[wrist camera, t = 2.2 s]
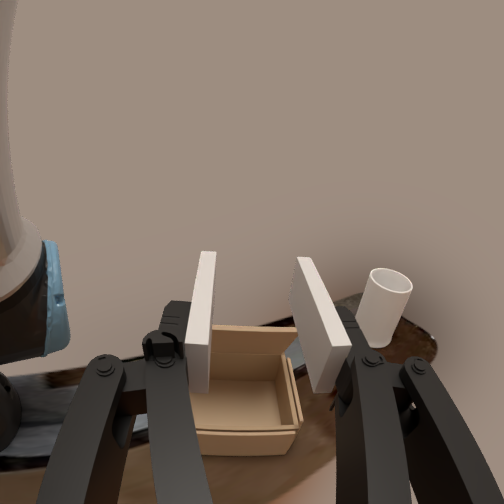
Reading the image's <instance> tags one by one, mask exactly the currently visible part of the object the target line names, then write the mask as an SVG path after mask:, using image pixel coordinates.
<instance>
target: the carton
mask: <svg viewBox="0 0 504 504" xmlns="http://www.w3.org/2000/svg"><path fill="white" fill-rule="evenodd" d="M189 395H190V401H191V406H192V412H193V417H194V422H195V428H196V433H197V438H198V442H199V447H200V452H201V455H219V456H266V455H285V454H286V452H287V450H289V448H290V446H291V444H292V443H293V441H294V439H295V437H296V435H297V433H298V431H299V429H300V427H301V425H302V423H303V416H302V412H301V407H300V402H299V397H298V393H297V388H296V383H295V379H294V374H293V369H292V365H291V360H290V358H287V360H286V358H285V353H284V352H283V353H282V354H236V353H214V352H211V355H210V372H209V392H208V394H205V393H191V392H189Z"/></svg>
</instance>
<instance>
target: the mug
mask: <svg viewBox="0 0 504 504" xmlns="http://www.w3.org/2000/svg"><path fill="white" fill-rule="evenodd" d="M412 287H413V286H412V283H411V281H410V280H409V279H408V278H407V277H405V276H404V275H402V274H401V273H399V272H396V271H394V270H390V269H385V268H377V269H374V270H372V271H371V272H370V276H369V279H368V281H367V285H366V288H365V291H364V294H363V296H362V299H361V302H360V305H359V308H358V311H357V314H356V316H355V319H356V321H357V322H358V324H359V326H360V329H361V330H362V332H363V334H364V336H365V338H366V340H367V342H368V344H369V346H370V347H371V348H382V347H385V346H387V345H388V344H389V343H390V342H391V339H392V335H393V332H394V330H395V328H396V326H397V324H398V321H399V319H400V317H401V315H402V312H403V310H404V308H405V305H406V303H407V301H408V298H409V296H410V293H411V291H412Z"/></svg>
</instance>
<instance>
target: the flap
mask: <svg viewBox="0 0 504 504" xmlns="http://www.w3.org/2000/svg"><path fill="white" fill-rule="evenodd" d="M297 336H298V333H297V329H296V327H252V326H227V325H212V339H211V352H214V353H236V354H282V353H283V352H284V351H285V350H286V349H287V348H288V347H289V345H290V344H291V343H292V342H293V341H294V340H295V339H296V337H297Z"/></svg>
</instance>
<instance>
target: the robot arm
mask: <svg viewBox="0 0 504 504" xmlns="http://www.w3.org/2000/svg"><path fill="white" fill-rule="evenodd" d="M17 3H18V0H0V365H2V364H7V363H12V362H16V361H21V360H26V359H31V358H35V357H45V356H47V354H49V353H53V352H56V351H59V350H62V349H64V348H65V347H66V346H67V345H68V344H69V341H70V328H69V322H68V316H67V310H66V304H65V299H64V292H63V283H62V276H61V268H60V260H59V254H58V247H57V244H56V243H55V242H54V241H47V240H44V241H42V240H41V237H40V234H39V231H38V229H37V227H36V226H35V225H34V224H33V223H32V222H31V221H30V220H28V219H27V218H24V217H22V216H20V212H19V207H18V203H17V197H16V192H15V186H14V180H13V172H12V165H11V157H10V146H9V133H8V110H7V91H8V89H7V88H8V67H9V55H10V45H11V37H12V30H13V24H14V18H15V12H16V8H17ZM215 272H216V252H211V251H210V252H209V251H201V256H200V261H199V266H198V271H197V276H196V281H195V287H194V292H193V298H192V302H185V301H170V303H169V304H168V305H167V306H166V307H165V308H164V311H163V315H162V319H161V322H160V325H159V329H158V330H155V331H152V332H150V333H148V334H147V335H146V336H145V337H144V338H143V342H142V346H143V352H144V357H145V358H144V359H141V360H139V361H135V362H127V363H122V361H121V360H120V359H119V358H118V357H116V356H113V355H107V354H104V355H100V356H97V357H95V358H94V359H92V360H91V361H90V363H89V364H88V366H87V368H86V370H85V372H84V374H83V377H82V379H81V381H80V383H79V386H78V388H77V390H76V392H75V395H74V397H73V399H72V402H71V404H70V406H69V409H68V411H67V414H66V416H65V419H64V421H63V424H62V426H61V429H60V432H59V434H58V437H57V439H56V442H55V445H54V448H53V451H52V453H51V456H50V459H49V462H48V465H47V468H46V471H45V474H44V477H43V481H42V484H41V487H40V491H39V494H38V498H37V501H36V504H117V501H118V496H119V491H120V486H121V481H122V476H123V471H124V466H125V462H126V457H127V453H128V449H129V444H130V440H131V436H132V432H133V428H134V424H135V420H136V416H137V415H139V414H146V413H147V417H148V430H149V442H150V452H151V461H152V469H153V477H154V484H155V491H156V498H157V504H213V501H212V498H211V494H210V490H209V486H208V482H207V478H206V474H205V469H204V465H203V461H202V456H201V452H200V447H199V442H198V438H197V433H196V428H195V422H194V417H193V412H192V406H191V401H190V395H189V392H191V393H205V394H208V392H209V372H210V355H211V339H212V324H213V310H214V297H215ZM289 303H290V307H291V311H292V314H293V318H294V322H295V325H296V329H297V333H298V336H299V340H300V344H301V347H302V351H303V355H304V359H305V362H306V366H307V370H308V374H309V378H310V382H311V385H312V389H313V393H325V392H331V391H332V389H333V387H334V385H335V384H336V387H337V390H338V392H337V394H336V396H335V398H334V400H333V402H332V404H331V406H330V410H329V411H332V410H333V408H334V406H335V418H336V460H337V461H336V466H337V467H336V469H337V472H336V475H337V476H336V478H337V479H336V504H412V501H411V491H410V483H411V486H412V488H413V491H414V493H415V496H416V499H417V501H418V504H504V499H503V497H502V494H501V492H500V490H499V487H498V485H497V483H496V481H495V479H494V477H493V474H492V472H491V470H490V468H489V466H488V464H487V463H486V460H485V458H484V456H483V454H482V452H481V450H480V448H479V447H478V445H477V443H476V441H475V439H474V437H473V435H472V434H471V432H470V430H469V428H468V426H467V424H466V423H465V421H464V419H463V417H462V416H461V414H460V412H459V411H458V409H457V407H456V405H455V404H454V402H453V400H452V399H451V397H450V395H449V394H448V392H447V391H446V389H445V387H444V386H443V384H442V382H441V381H440V379H439V378H438V376H437V374H436V373H435V371H434V370H433V368H432V367H431V365H430V364H429V363H428V362H427V361H426V360H424V359H423V358H420V357H410V358H407V360H406V361H405V362H404V364H403V365H402V364H396V363H390V362H386V360H385V358H384V356H382V355H381V354H380V353H379V352H377V351H375V350H372V349H371V348H370V346H369V344H368V342H367V340H366V338H365V336H364V334H363V332H362V330H361V329H360V326H359V324H358V322H357V321H356V319H355V317H354V315H353V313H352V312H351V311H350V310H348V309H347V308H346V307H343V306H334V305H333V303H332V300H331V298H330V296H329V294H328V292H327V290H326V288H325V286H324V284H323V282H322V280H321V278H320V275H319V274H318V271H317V269H316V267H315V265H314V263H313V261H312V260H311V258H310V257H297V258H296V263H295V269H294V274H293V279H292V284H291V290H290V295H289ZM413 402H414V404H415V406H416V408H414V407H413V406H412V403H413ZM20 421H21V403H20V399H19V396H18V394H17V392H16V390H15V389H14V387H13V386H12V384H11V383H10V381H9V380H8V378H7V377H6V376H5V375H4V374H3V373H1V372H0V451H2V450H3V449H4V448H6V447H7V446H8V445H9V444H10V442H11V441H12V440H13V438H14V437H15V435H16V433H17V431H18V428H19V425H20ZM409 480H410V482H409Z"/></svg>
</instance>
